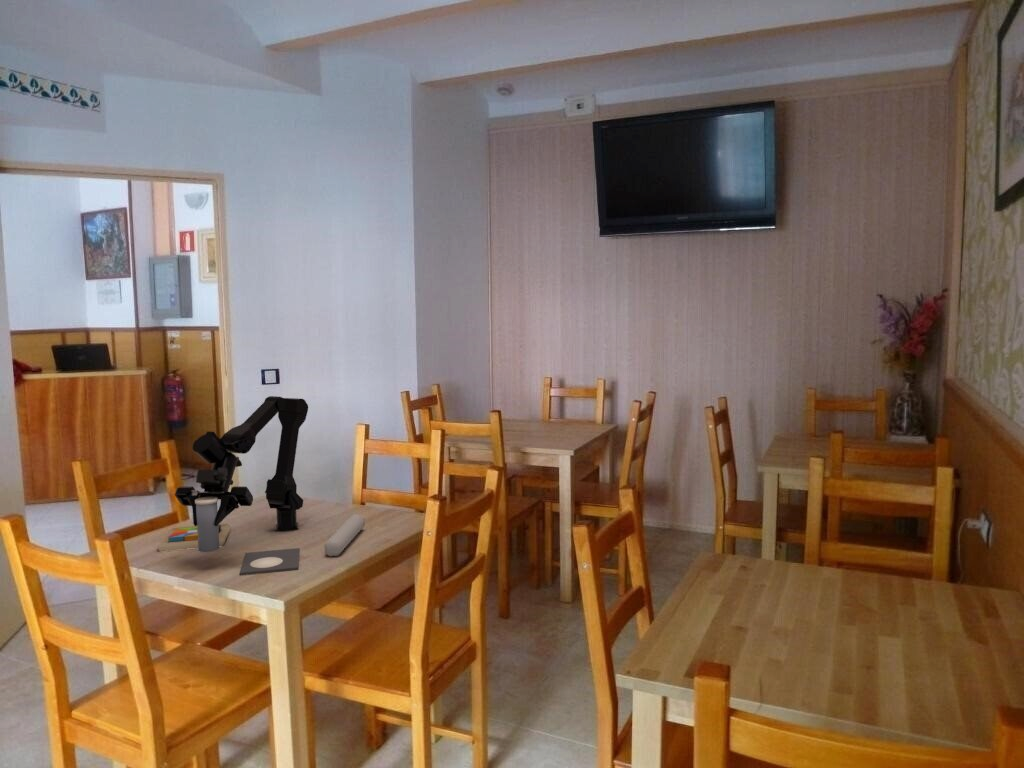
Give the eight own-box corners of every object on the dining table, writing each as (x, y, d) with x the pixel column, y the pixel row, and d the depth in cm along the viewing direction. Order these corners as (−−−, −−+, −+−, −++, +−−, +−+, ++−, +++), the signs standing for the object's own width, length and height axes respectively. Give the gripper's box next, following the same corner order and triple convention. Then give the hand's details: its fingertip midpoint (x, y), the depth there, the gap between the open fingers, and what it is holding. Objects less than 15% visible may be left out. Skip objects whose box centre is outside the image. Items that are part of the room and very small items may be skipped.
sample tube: (199, 546, 192) (196, 497, 191) (221, 544, 194) (218, 495, 192) (196, 553, 187) (193, 502, 186) (219, 551, 189) (216, 501, 187)
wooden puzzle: (231, 529, 226) (231, 518, 225) (224, 548, 207) (224, 536, 207) (169, 534, 221) (168, 522, 221) (156, 554, 203) (156, 541, 203)
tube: (343, 544, 196) (367, 517, 221) (324, 537, 196) (350, 511, 221) (337, 562, 197) (362, 533, 222) (318, 556, 197) (345, 527, 222)
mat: (245, 555, 200) (245, 552, 200) (299, 550, 203) (299, 547, 203) (239, 575, 184) (239, 572, 184) (298, 569, 188) (298, 566, 188)
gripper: (175, 456, 193) (156, 509, 183) (246, 456, 192) (230, 509, 182) (192, 479, 201) (174, 530, 191) (259, 479, 200) (245, 531, 190)
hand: (205, 525), depth 188 cm, fingers closed on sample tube, 5 cm apart
